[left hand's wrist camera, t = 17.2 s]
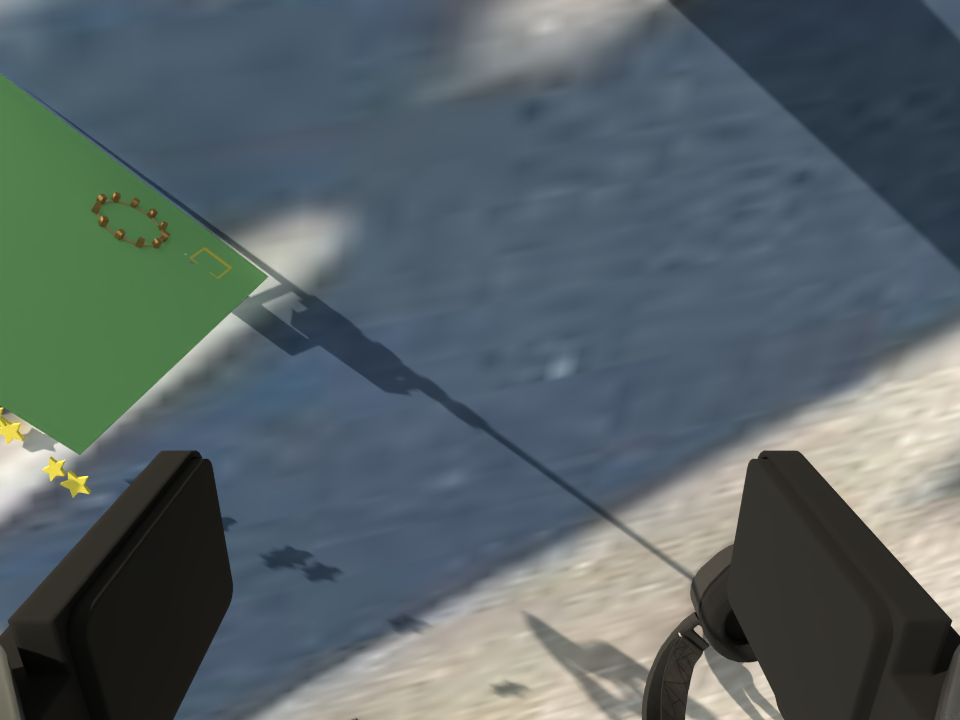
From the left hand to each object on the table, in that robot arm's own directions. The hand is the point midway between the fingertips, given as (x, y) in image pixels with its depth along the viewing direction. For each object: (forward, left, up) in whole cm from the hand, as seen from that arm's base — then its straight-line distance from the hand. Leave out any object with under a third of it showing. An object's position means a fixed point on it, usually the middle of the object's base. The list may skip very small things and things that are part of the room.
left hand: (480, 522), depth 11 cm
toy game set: (-8, -31, -36) cm, 49 cm away
